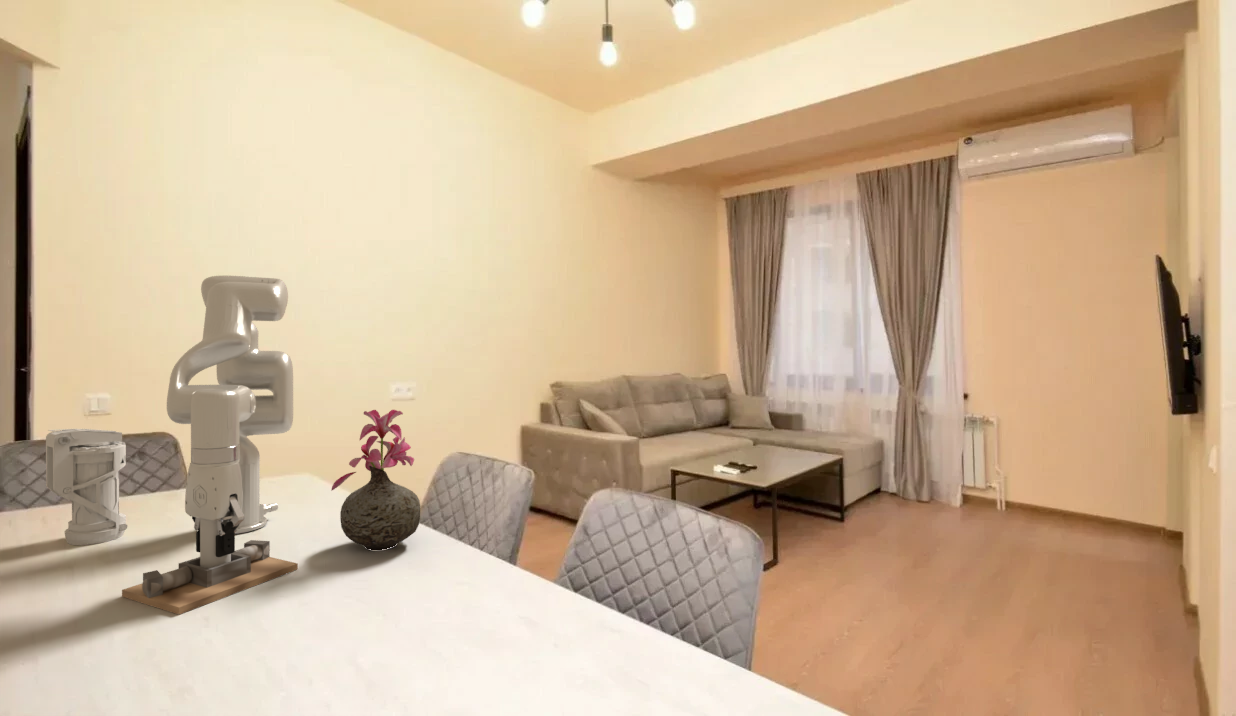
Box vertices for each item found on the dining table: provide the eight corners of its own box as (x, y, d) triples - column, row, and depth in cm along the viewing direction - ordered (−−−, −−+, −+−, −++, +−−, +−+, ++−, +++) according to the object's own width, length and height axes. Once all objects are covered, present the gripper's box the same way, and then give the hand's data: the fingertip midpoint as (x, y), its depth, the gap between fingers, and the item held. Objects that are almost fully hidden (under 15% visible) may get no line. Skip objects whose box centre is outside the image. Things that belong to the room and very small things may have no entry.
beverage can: (237, 563, 114) (237, 500, 114) (215, 572, 109) (215, 507, 109) (215, 560, 115) (215, 498, 115) (193, 570, 110) (193, 505, 110)
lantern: (114, 528, 142) (114, 422, 142) (134, 536, 137) (134, 426, 136) (41, 543, 131) (41, 428, 131) (59, 552, 126) (59, 433, 125)
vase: (434, 546, 134) (435, 412, 133) (355, 566, 121) (356, 418, 120) (397, 529, 145) (399, 405, 144) (322, 546, 132) (323, 410, 132)
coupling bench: (244, 556, 126) (244, 535, 125) (298, 569, 119) (298, 547, 119) (121, 596, 105) (121, 571, 105) (178, 614, 99) (178, 588, 99)
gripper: (165, 454, 112) (165, 551, 112) (225, 463, 105) (225, 567, 105) (206, 448, 119) (206, 539, 119) (265, 456, 112) (265, 553, 112)
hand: (215, 551), depth 112 cm, fingers closed on beverage can, 4 cm apart
